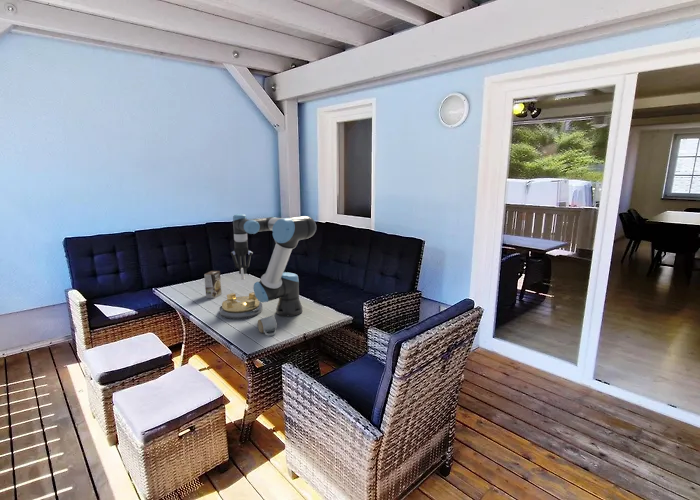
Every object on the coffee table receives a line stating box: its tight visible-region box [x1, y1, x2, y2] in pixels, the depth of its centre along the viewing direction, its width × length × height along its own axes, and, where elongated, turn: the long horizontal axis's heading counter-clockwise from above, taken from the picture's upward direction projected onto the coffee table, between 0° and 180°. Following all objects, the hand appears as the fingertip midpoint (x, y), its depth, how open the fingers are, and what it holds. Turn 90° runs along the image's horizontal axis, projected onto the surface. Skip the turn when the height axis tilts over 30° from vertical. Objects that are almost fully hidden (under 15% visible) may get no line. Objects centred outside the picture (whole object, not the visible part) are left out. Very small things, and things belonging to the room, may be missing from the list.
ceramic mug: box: [257, 315, 278, 337], centre depth 186 cm, size 11×8×8 cm
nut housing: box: [218, 301, 263, 320], centre depth 215 cm, size 24×24×3 cm
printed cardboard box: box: [203, 270, 223, 299], centre depth 239 cm, size 9×6×16 cm
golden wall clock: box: [221, 291, 260, 313], centre depth 214 cm, size 21×21×6 cm
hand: (243, 279), depth 220 cm, fingers closed
